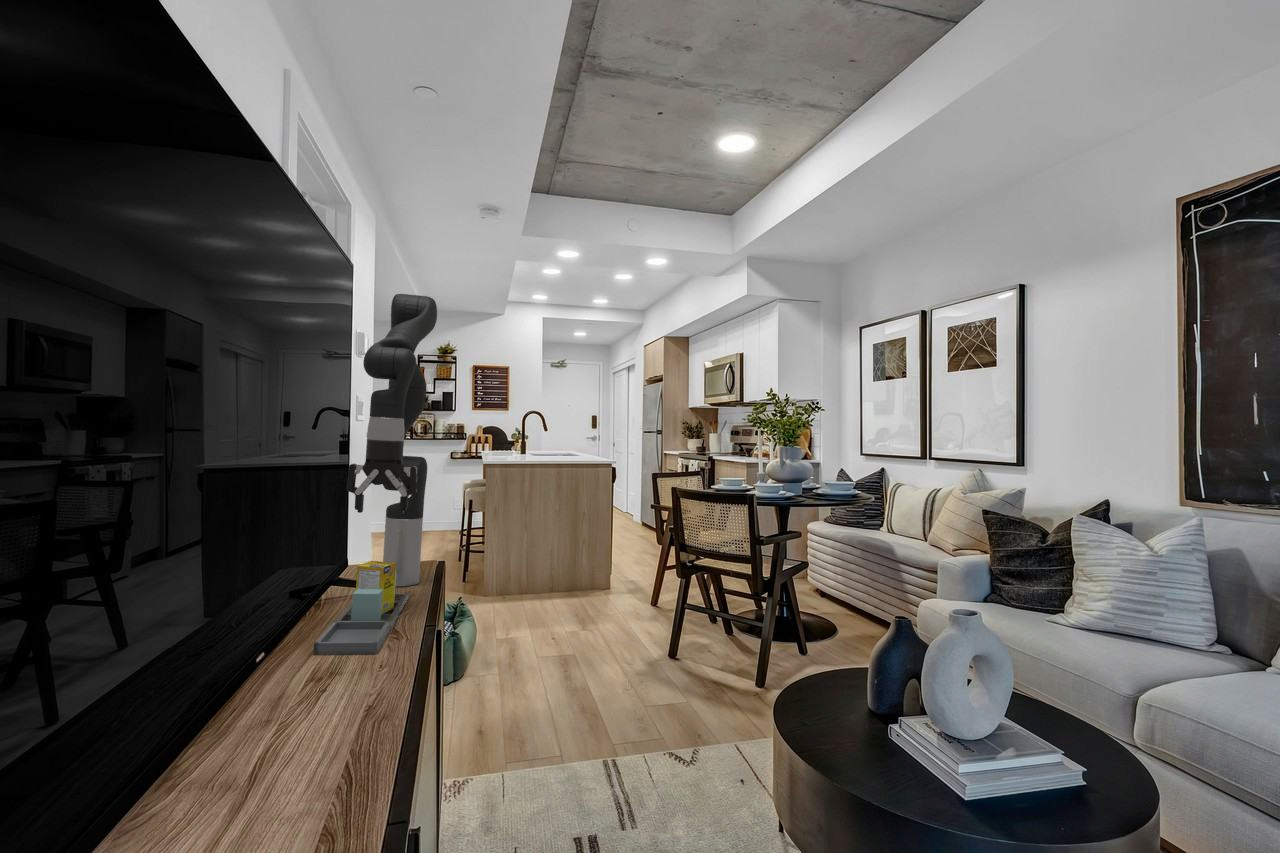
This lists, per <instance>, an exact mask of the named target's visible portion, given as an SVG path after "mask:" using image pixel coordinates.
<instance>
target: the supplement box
mask: <svg viewBox="0 0 1280 853" xmlns="http://www.w3.org/2000/svg"><path fill="white" fill-rule="evenodd" d="M395 575H396V563H394V562H383V561H379V560H378V561H377V560H370V561H367V562H364V563H361V564H359V565H357V569H356V584H355V591H356V590H357V589H383V596H382V611H381V614H392V613H393V611H394V610H395V608H394V602H395V601H394V592H395V593H396V586H395Z"/></svg>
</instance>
